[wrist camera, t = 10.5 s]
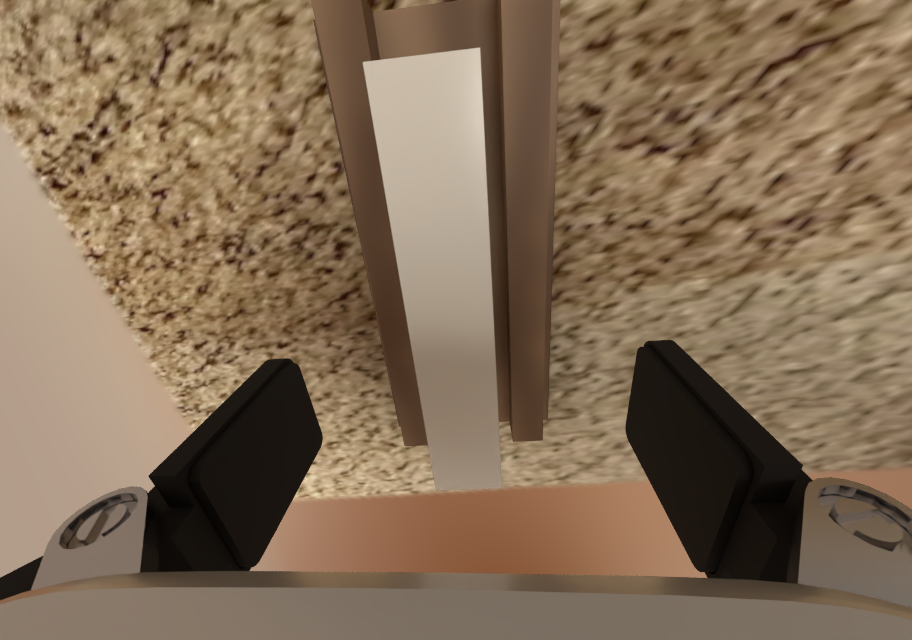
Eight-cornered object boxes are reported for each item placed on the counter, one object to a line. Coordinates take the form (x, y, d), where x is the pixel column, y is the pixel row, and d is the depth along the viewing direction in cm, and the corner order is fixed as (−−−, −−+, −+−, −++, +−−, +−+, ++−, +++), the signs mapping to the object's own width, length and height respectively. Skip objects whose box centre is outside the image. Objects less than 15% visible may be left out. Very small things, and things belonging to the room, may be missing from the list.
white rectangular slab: (474, 98, 17) (480, 47, 9) (490, 373, 24) (502, 488, 16) (413, 105, 17) (362, 61, 9) (447, 375, 24) (435, 490, 16)
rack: (555, -4, 16) (573, -37, 13) (545, 410, 26) (553, 439, 23) (321, 27, 17) (292, 2, 14) (401, 417, 27) (394, 446, 24)
